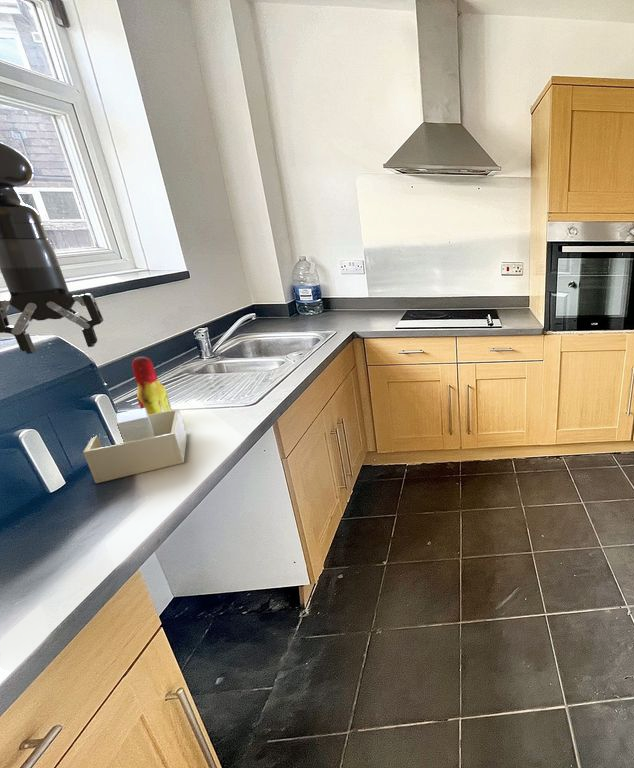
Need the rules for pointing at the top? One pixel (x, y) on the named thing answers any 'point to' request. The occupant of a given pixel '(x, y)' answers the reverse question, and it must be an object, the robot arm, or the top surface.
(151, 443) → the beige open box
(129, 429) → the small box
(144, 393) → the bottle
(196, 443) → the top surface
